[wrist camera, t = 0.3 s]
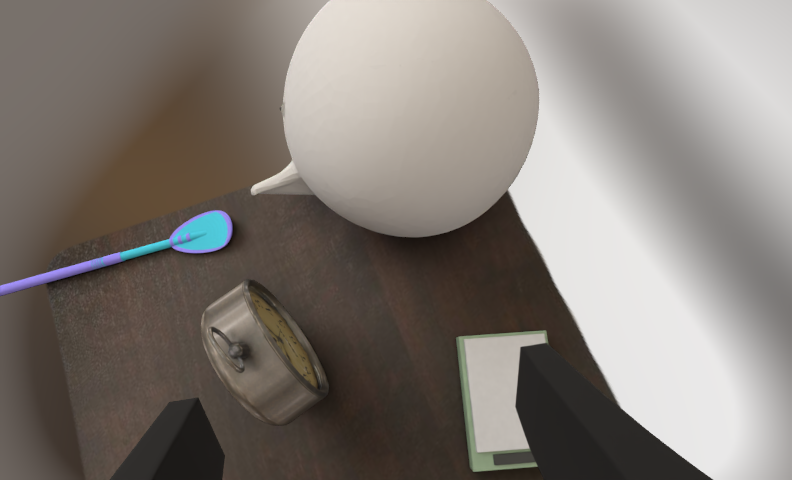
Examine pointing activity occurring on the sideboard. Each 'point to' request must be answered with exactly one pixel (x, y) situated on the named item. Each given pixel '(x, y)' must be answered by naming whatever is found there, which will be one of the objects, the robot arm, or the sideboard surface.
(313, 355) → the alarm clock
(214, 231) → the spoon
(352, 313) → the sideboard surface
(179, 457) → the robot arm
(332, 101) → the mask
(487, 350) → the scale
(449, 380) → the sideboard surface
